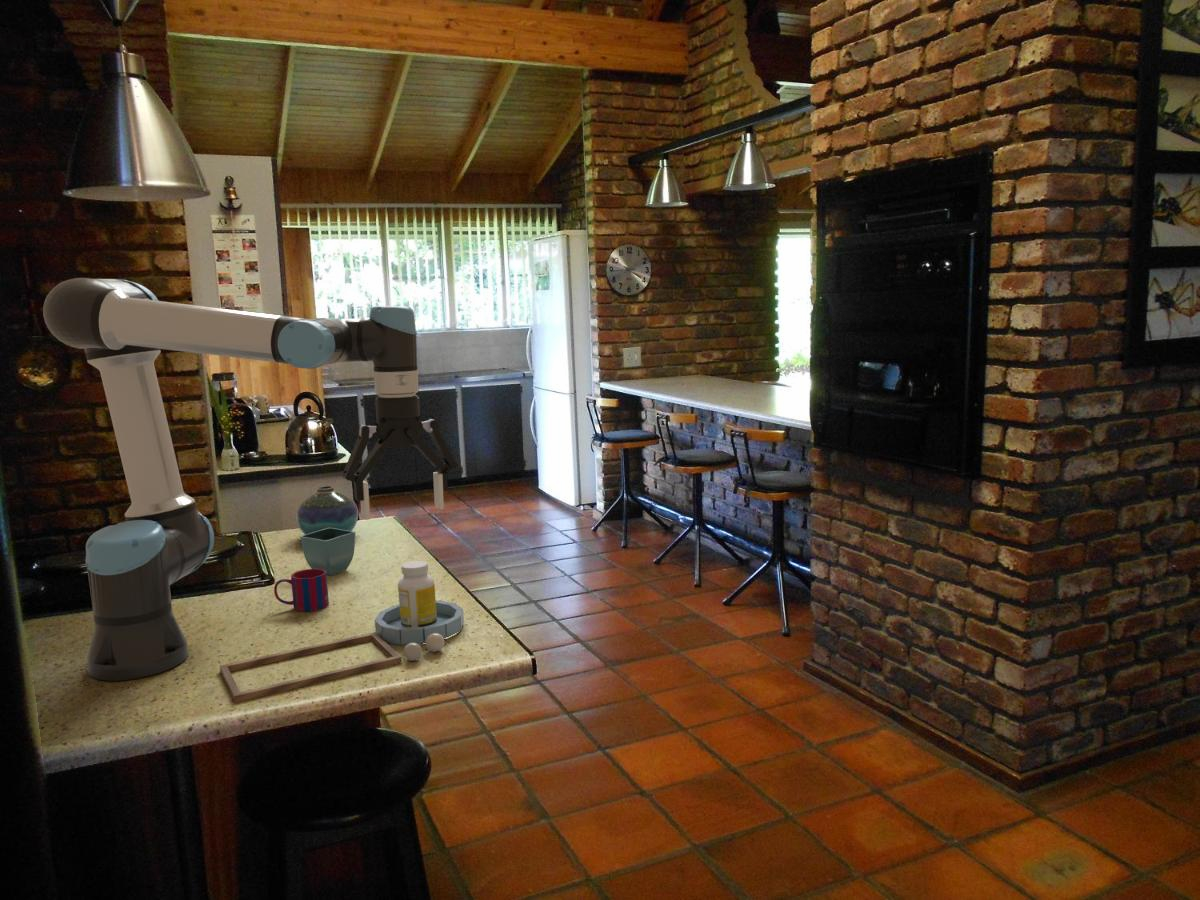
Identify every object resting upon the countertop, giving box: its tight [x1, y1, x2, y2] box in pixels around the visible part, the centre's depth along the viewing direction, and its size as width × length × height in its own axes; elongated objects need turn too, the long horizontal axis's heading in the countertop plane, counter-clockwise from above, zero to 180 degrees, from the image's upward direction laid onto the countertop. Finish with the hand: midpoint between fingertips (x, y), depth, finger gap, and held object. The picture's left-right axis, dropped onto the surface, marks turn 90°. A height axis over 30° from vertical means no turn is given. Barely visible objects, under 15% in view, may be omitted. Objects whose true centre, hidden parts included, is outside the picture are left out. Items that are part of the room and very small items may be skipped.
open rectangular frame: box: [219, 631, 403, 703], centre depth 146 cm, size 26×14×1 cm, turn 121°
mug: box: [273, 568, 330, 613], centre depth 176 cm, size 7×10×7 cm
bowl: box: [374, 599, 465, 646], centre depth 162 cm, size 15×15×3 cm
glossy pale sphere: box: [403, 642, 423, 662], centre depth 148 cm, size 3×3×3 cm
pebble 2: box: [425, 633, 446, 653], centre depth 151 cm, size 3×3×3 cm
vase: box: [296, 485, 359, 535], centre depth 230 cm, size 15×15×13 cm
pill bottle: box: [397, 560, 437, 628], centre depth 161 cm, size 6×6×12 cm
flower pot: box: [299, 528, 356, 577], centre depth 199 cm, size 9×9×9 cm
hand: (403, 513), depth 159 cm, fingers open, 13 cm apart
